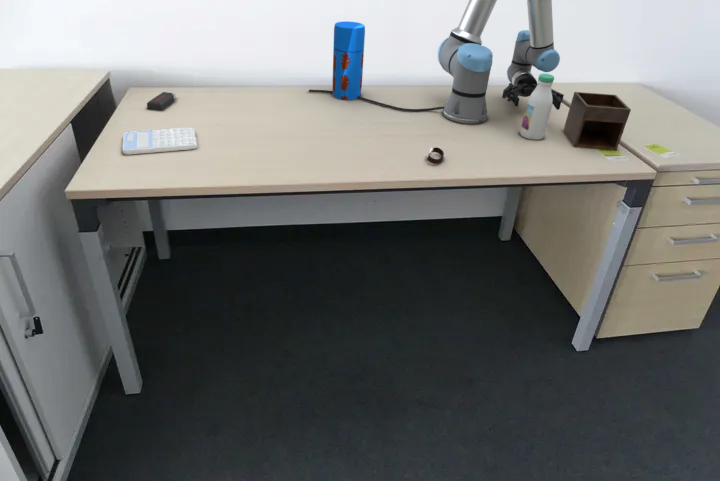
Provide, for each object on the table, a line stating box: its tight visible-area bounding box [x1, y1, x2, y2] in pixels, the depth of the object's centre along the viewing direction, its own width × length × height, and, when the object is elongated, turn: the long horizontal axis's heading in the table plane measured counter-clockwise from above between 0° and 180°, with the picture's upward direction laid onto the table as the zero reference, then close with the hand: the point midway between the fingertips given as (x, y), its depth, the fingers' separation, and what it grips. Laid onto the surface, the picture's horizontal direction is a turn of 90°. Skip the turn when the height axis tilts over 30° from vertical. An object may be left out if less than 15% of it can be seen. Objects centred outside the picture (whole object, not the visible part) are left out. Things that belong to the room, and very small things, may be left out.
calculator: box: [121, 126, 198, 155], centre depth 155 cm, size 13×20×2 cm, turn 108°
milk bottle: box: [520, 73, 555, 141], centre depth 170 cm, size 8×8×20 cm
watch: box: [426, 146, 445, 165], centre depth 155 cm, size 8×5×4 cm, turn 157°
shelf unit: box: [562, 91, 632, 151], centre depth 172 cm, size 14×14×14 cm
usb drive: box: [146, 91, 177, 112], centre depth 180 cm, size 5×12×3 cm, turn 170°
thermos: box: [332, 21, 366, 101], centre depth 192 cm, size 11×11×25 cm
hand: (538, 104), depth 172 cm, fingers open, 13 cm apart
